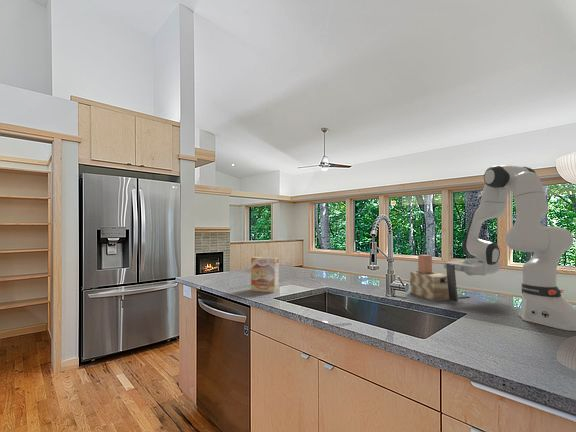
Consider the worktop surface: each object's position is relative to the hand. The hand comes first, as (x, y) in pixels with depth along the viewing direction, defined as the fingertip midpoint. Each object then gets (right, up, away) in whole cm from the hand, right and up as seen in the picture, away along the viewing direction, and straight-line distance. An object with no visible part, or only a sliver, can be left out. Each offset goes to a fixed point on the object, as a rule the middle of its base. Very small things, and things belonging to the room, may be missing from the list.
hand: (450, 267), depth 158 cm
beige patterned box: (-4, -18, +14) cm, 23 cm away
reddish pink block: (-5, -6, +18) cm, 20 cm away
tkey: (+1, -17, +2) cm, 17 cm away
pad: (+10, -18, +13) cm, 24 cm away
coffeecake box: (-96, -18, +24) cm, 101 cm away
